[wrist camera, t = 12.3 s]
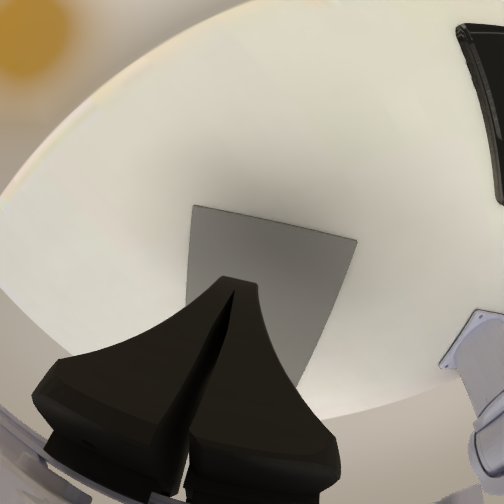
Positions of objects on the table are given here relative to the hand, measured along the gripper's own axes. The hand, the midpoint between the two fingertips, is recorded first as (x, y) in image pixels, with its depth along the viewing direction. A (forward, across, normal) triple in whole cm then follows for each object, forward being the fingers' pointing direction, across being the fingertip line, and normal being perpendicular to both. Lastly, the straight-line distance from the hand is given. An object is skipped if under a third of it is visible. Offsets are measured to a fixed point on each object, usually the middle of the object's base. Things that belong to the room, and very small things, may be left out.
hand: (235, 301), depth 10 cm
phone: (+11, -18, -14) cm, 25 cm away
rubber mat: (+10, -1, +11) cm, 15 cm away
